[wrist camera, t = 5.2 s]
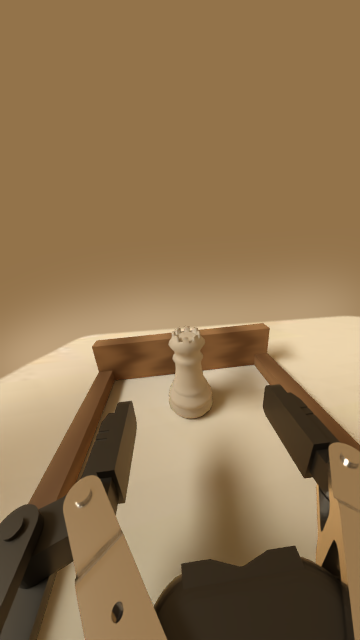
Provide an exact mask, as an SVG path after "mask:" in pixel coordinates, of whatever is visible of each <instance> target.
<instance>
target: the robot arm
mask: <svg viewBox="0 0 360 640" xmlns="http://www.w3.org/2000/svg"><path fill="white" fill-rule="evenodd" d="M263 409H264V412H265V415H266V417H267V418H268V420H269V422H270V423H271V425H272V427H273V428H274V430H275V431H276V433H277V435H278V436H279V438H280V440H281V441H282V443H283V445H284V446H285V448H286V449H287V451H288V453H289V454H290V456H291V458H292V459H293V461H294V463H295V464H296V466H297V467H298V469H299V471H300V472H301V474H302V476H303V477H304V478H311V477H313V478H314V479H315V481H316V482H317V486H316V494H317V524H318V540H317V548H316V563H314V562H312V561H310V560H308V559H305V558H303V557H300V556H299V554H298V551H297V549H296V547H295V546H290V547H284V548H277V549H271V550H267V551H266V552H264V553H263V554H261V555H260V556H258V557H257V558H255V559H254V560H252V561H251V562H249V563H248V564H246V565H245V566H243V567H239V566H235V565H231V564H227V563H223V562H219V561H215V560H211V559H208V560H202V561H195V562H189V563H183V564H181V566H182V574H181V575H179V576H178V577H176V578H175V579H174V580H173V581H172V582H171V583H169V585H168V586H167V587H166V588H165V589H164V591H163V592H162V594H161V595H160V597H159V598H158V600H157V601H156V603H155V605H154V607H153V604H152V602H151V600H150V597H149V595H148V592H147V590H146V587H145V585H144V583H143V580H142V578H141V575H140V573H139V571H138V568H137V566H136V563H135V561H134V558H133V556H132V554H131V551H130V549H129V546H128V544H127V542H126V539H125V537H124V534H123V532H122V530H121V528H120V526H119V523H118V521H117V518H116V511H117V505H118V504H120V503H125V500H126V493H127V487H128V481H129V475H130V468H131V462H132V456H133V449H134V443H135V437H136V429H137V422H136V417H135V412H134V408H133V403H132V401H127V402H119V403H118V404H117V407H116V410H115V413H109V414H108V415H107V416H106V418H105V419H104V420H103V421H102V423H101V426H100V429H99V433H98V434H97V437H96V441H95V442H94V445H93V448H92V451H91V453H90V456H89V459H88V462H87V464H86V467H85V470H84V472H83V475H82V477H81V479H80V480H79V481H78V482H76V483H75V484H74V485H73V487H72V488H71V489H70V490H69V492H68V494H67V495H65V496H64V497H62V498H60V499H58V500H56V501H54V502H52V503H50V504H48V505H46V506H44V507H42V508H40V509H38V508H37V507H36V506H35V505H33V504H27V505H23V506H21V507H19V508H17V509H16V510H14V511H13V512H12V513H10V514H9V515H8V516H7V517H6V518H5V519H4V520H3V521H2V522H1V524H0V640H37V636H38V633H39V630H40V626H41V623H42V620H43V616H44V613H45V610H46V606H47V603H48V600H49V596H50V593H51V590H52V586H53V583H54V580H55V577H56V573H57V571H58V570H60V569H62V568H63V567H65V566H66V565H68V564H70V563H71V562H73V561H74V566H75V571H76V579H75V589H76V595H77V601H78V606H79V611H80V616H81V621H82V626H83V631H84V636H85V640H360V452H359V451H358V450H357V449H355V448H353V447H352V446H349V445H347V444H344V443H341V442H340V441H339V440H338V439H337V438H336V437H335V436H334V435H333V434H332V433H331V432H330V431H329V429H328V428H327V427H326V426H325V425H324V424H323V423H322V422H321V421H320V420H319V418H318V417H317V416H316V415H314V414H313V412H312V411H311V410H310V409H309V408H308V407H307V405H306V404H305V403H304V402H303V401H302V400H301V399H300V398H299V397H297V396H296V395H294V394H293V393H291V392H289V393H287V392H286V390H285V389H284V388H283V387H282V386H281V385H280V384H276V385H267V386H266V387H265V392H264V400H263Z"/></svg>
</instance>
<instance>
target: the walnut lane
mask: <svg viewBox="0 0 360 640" xmlns="http://www.w3.org/2000/svg"><path fill="white" fill-rule="evenodd" d="M269 330H270V328H269V327H267V326H266V325H265V324H263V323H261V324H252V325H242V326H232V327H223V328H213V329H204V330H198V331H200V335H201V336H202V337H203V338H204V339H205V344H204V345H203V347H202V348H201V349H200V352H201V353H202V354H203V359H202V360H201V366H202V370H210V369H218V368H227V367H236V366H244V365H253V364H254V365H255V366H256V368H257V369H258V370H259V371H260V373H261V374H262V375H263V376H264V378H265V379H266V380H267V381H268V383H269V384H270V385H276V384H280V385H281V386H282V387H283V388H284V389H285V390H286V392H287V393H289V392H291V393H293V394H294V395H296V396H297V397H299V398H300V399H301V400H302V401H303V402H304V403H305V404H306V405H307V407H308V408H309V409H310V410H311V411H312V412H313V414H314V415H316V416H317V417H318V418H319V420H320V421H321V422H322V423H323V424H324V425H325V426H326V427H327V428H328V429H329V431H330V432H331V433H332V434H333V435H334V436H335V437H336V438H337V439H338V440H339V441H340V442H341V443H344V444H347V445H349V446H352V447H353V448H355V449H357V450H358V451H359V452H360V445H359V444H358V443H357V442H356V441H355V440H354V439H353V438H352V437H351V436H350V435H349V434H348V433H347V432H346V431H345V430H344V429H343V428H342V427H341V426H340V425H339V424H338V423H337V422H336V421H335V420H334V419H333V418H332V417H331V416H330V415H329V414H328V413H327V412H326V411H325V410H324V409H323V408H322V407H321V406H320V405H319V404H318V403H317V402H316V401H315V400H314V399H313V398H312V397H311V396H310V395H309V394H308V393H307V392H306V391H305V390H304V389H303V388H302V387H301V386H300V385H299V384H298V383H296V382H295V381H294V380H293V379H292V378H291V377H290V376H289V375H288V374H287V373H286V372H285V371H284V370H283V369H282V368H281V367H280V366H279V365H278V364H277V363H276V362H275V361H274V360H273V359H272V358H271V357H270V356H269V355H268V354H267V348H268V339H269ZM171 338H172V333H165V334H156V335H146V336H136V337H127V338H117V339H108V340H98V341H96V342H95V344H94V345H93V346H92V349H93V352H94V356H95V359H96V363H97V366H98V370H99V373H98V375H97V377H96V379H95V381H94V382H93V384H92V386H91V388H90V390H89V392H88V394H87V396H86V397H85V399H84V401H83V403H82V405H81V407H80V409H79V410H78V412H77V414H76V416H75V418H74V420H73V422H72V423H71V425H70V427H69V429H68V431H67V433H66V435H65V436H64V438H63V440H62V442H61V444H60V446H59V448H58V449H57V451H56V453H55V455H54V457H53V459H52V461H51V463H50V464H49V466H48V468H47V470H46V472H45V474H44V476H43V477H42V479H41V481H40V483H39V485H38V487H37V489H36V490H35V492H34V494H33V496H32V498H31V500H30V502H29V503H28V504H33V505H35V506H36V507H37V508H38V509H40V508H42V507H44V506H46V505H48V504H50V503H52V502H54V501H56V500H58V499H60V498H62V497H64V496H65V495H67V494H68V492H69V490H70V489H71V488H72V487H73V485H74V484H75V483H76V481H77V478H78V476H79V473H80V471H81V468H82V465H83V463H84V460H85V457H86V455H87V452H88V450H89V447H90V444H91V442H92V439H93V436H94V434H95V431H96V429H97V426H98V423H99V421H100V418H101V415H102V413H103V410H104V408H105V405H106V402H107V400H108V397H109V394H110V392H111V389H112V387H113V384H114V381H115V380H123V379H131V378H140V377H149V376H157V375H166V374H175V371H176V366H175V362H174V360H173V355H174V354H175V352H174V351H173V350H172V349H171V348H170V346H169V345H168V344H169V341H170V339H171Z"/></svg>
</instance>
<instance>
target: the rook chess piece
mask: <svg viewBox="0 0 360 640" xmlns="http://www.w3.org/2000/svg"><path fill="white" fill-rule="evenodd" d="M204 344H205V339H204V338H203V337H202V336H201V335H200V331H198V328H195V327H193V328H192V331H189V326H188V327H184V331H182V332H181V329H180V328H177V329H175V332H172V338H171V339H170V341H169V344H168V345H169V346H170V348H171V349H172V350H173V351H174V352H175V354H174V355H173V360H174V362H175V366H176V371H175V379H174V380H173V384H172V385H171V387H170V392H169V397H170V399H169V404H170V407H171V409H172V410H173V411H174V412H175V413H176V414H177V415H179V416H182V417H185V418H197V417H200V416H202V415H204V414H205V413H206V412H207V411H208V410H210V408H211V406H212V403H213V398H212V390H211V387H210V385H209V384H208V382H207V380H206V379H205V377H204V376H203V371H202V366H201V360H202V359H203V354H202V353H201V352H200V349H201V348H202V347H203V345H204Z"/></svg>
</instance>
